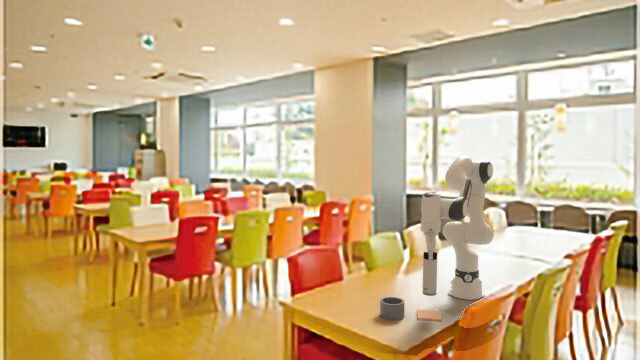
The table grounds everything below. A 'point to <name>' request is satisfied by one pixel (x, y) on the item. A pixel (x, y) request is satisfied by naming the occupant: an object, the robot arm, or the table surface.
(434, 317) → the terracotta tile
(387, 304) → the faceted gray cup
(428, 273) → the travel mug
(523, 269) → the table surface
